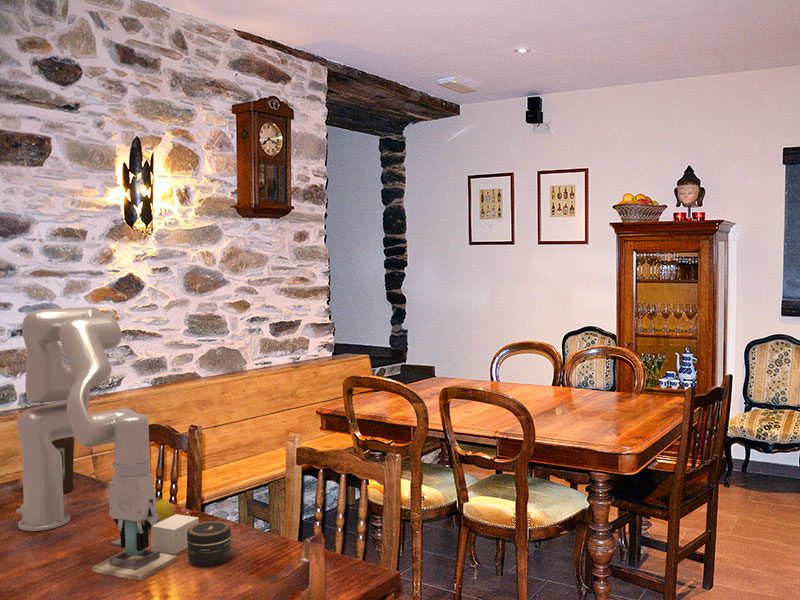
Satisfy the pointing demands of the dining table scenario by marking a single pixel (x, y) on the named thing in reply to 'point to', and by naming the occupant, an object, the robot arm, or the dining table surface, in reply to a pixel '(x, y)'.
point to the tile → (116, 542)
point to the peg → (131, 538)
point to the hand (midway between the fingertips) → (134, 546)
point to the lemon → (164, 510)
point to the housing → (172, 533)
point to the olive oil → (66, 461)
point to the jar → (209, 543)
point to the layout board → (135, 564)
